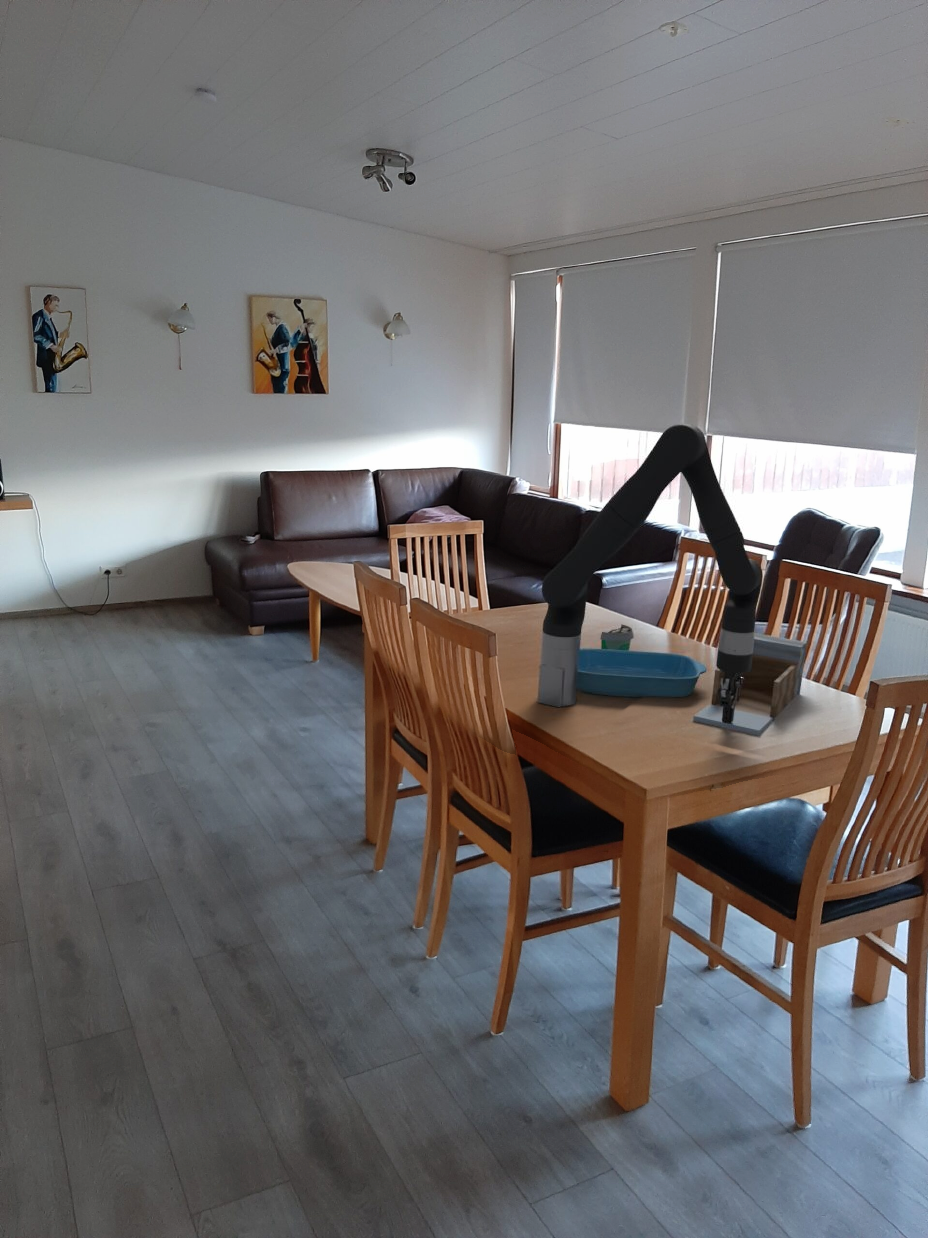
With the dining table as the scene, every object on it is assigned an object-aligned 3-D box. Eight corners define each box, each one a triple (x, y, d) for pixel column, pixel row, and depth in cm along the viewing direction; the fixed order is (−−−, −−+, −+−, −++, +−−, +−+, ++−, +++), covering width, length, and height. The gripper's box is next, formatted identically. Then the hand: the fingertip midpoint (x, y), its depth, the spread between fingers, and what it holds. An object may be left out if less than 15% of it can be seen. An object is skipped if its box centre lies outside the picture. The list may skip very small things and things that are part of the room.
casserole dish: (558, 696, 234) (560, 668, 232) (559, 669, 255) (561, 644, 253) (709, 707, 230) (712, 679, 228) (697, 679, 252) (700, 654, 250)
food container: (618, 672, 255) (621, 636, 252) (598, 667, 258) (600, 632, 256) (639, 662, 264) (642, 628, 262) (619, 657, 268) (622, 623, 265)
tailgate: (774, 722, 220) (759, 736, 209) (709, 708, 228) (691, 720, 217) (775, 717, 220) (760, 730, 209) (709, 703, 228) (692, 715, 217)
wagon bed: (773, 723, 221) (780, 665, 217) (710, 709, 228) (716, 653, 225) (799, 694, 242) (806, 642, 239) (741, 682, 250) (747, 631, 246)
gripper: (743, 658, 202) (735, 734, 206) (760, 645, 213) (752, 717, 217) (709, 652, 206) (701, 727, 210) (727, 639, 217) (719, 710, 221)
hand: (727, 722), depth 213 cm, fingers closed
